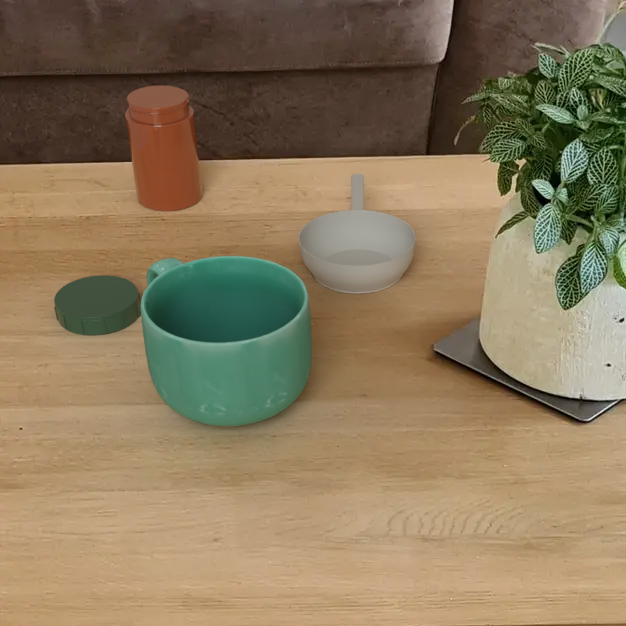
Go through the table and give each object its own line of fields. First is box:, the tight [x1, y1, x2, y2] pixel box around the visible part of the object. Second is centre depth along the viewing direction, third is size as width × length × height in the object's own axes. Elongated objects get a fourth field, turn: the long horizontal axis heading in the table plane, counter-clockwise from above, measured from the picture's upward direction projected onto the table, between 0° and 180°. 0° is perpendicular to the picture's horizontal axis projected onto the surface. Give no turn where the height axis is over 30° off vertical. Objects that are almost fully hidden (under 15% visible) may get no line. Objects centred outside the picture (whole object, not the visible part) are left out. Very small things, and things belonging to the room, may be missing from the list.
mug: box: [140, 255, 313, 427], centre depth 91 cm, size 17×13×10 cm
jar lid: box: [53, 274, 141, 336], centre depth 101 cm, size 7×7×2 cm
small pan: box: [297, 173, 417, 295], centre depth 111 cm, size 11×18×4 cm, turn 3°
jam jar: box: [124, 85, 204, 212], centre depth 117 cm, size 7×7×11 cm
